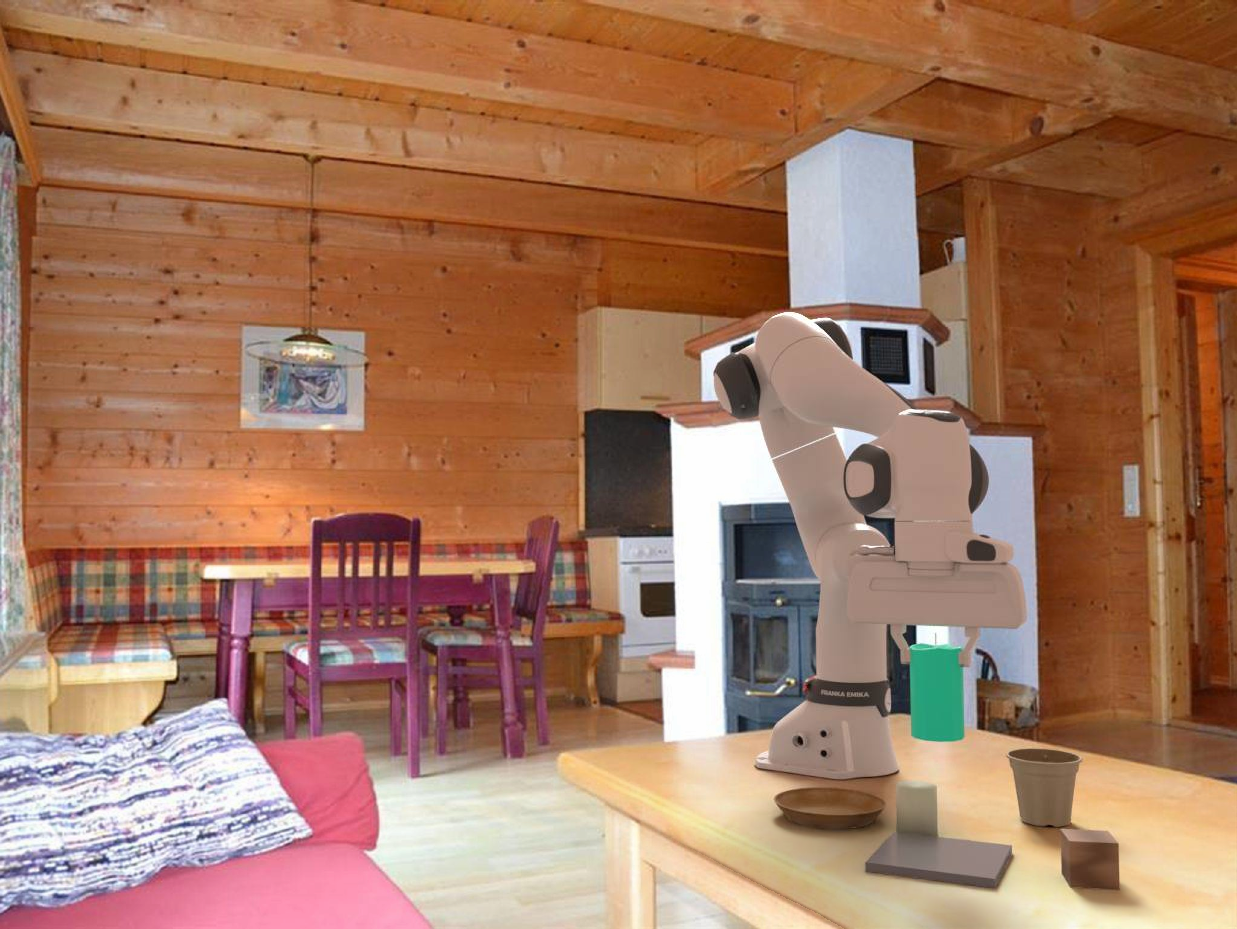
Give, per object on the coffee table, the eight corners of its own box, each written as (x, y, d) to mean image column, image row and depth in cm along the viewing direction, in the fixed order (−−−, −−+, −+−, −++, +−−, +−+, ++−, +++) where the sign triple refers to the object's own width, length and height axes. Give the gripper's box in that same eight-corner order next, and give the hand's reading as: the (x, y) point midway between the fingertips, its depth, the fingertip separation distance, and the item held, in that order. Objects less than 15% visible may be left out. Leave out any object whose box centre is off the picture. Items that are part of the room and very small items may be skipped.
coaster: (865, 871, 129) (865, 862, 129) (893, 839, 141) (893, 831, 141) (994, 888, 122) (994, 878, 122) (1012, 853, 135) (1011, 845, 135)
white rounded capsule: (892, 835, 143) (892, 787, 143) (901, 826, 148) (900, 779, 148) (933, 840, 141) (932, 791, 141) (941, 830, 145) (940, 783, 146)
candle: (967, 742, 129) (964, 636, 130) (912, 741, 131) (910, 635, 131) (962, 731, 135) (959, 630, 136) (909, 730, 136) (907, 629, 137)
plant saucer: (908, 819, 152) (907, 799, 152) (847, 841, 141) (846, 820, 142) (815, 800, 162) (814, 782, 162) (751, 820, 152) (751, 800, 152)
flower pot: (1076, 835, 143) (1074, 765, 143) (999, 825, 148) (998, 757, 148) (1090, 818, 151) (1088, 752, 151) (1016, 809, 156) (1015, 745, 156)
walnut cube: (1070, 888, 123) (1069, 840, 123) (1061, 874, 128) (1060, 828, 128) (1119, 890, 122) (1118, 843, 122) (1109, 876, 127) (1107, 830, 127)
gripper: (839, 546, 135) (840, 663, 135) (1020, 547, 126) (1023, 673, 126) (853, 545, 141) (854, 657, 140) (1027, 546, 132) (1029, 666, 131)
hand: (935, 665), depth 133 cm, fingers closed on candle, 5 cm apart
